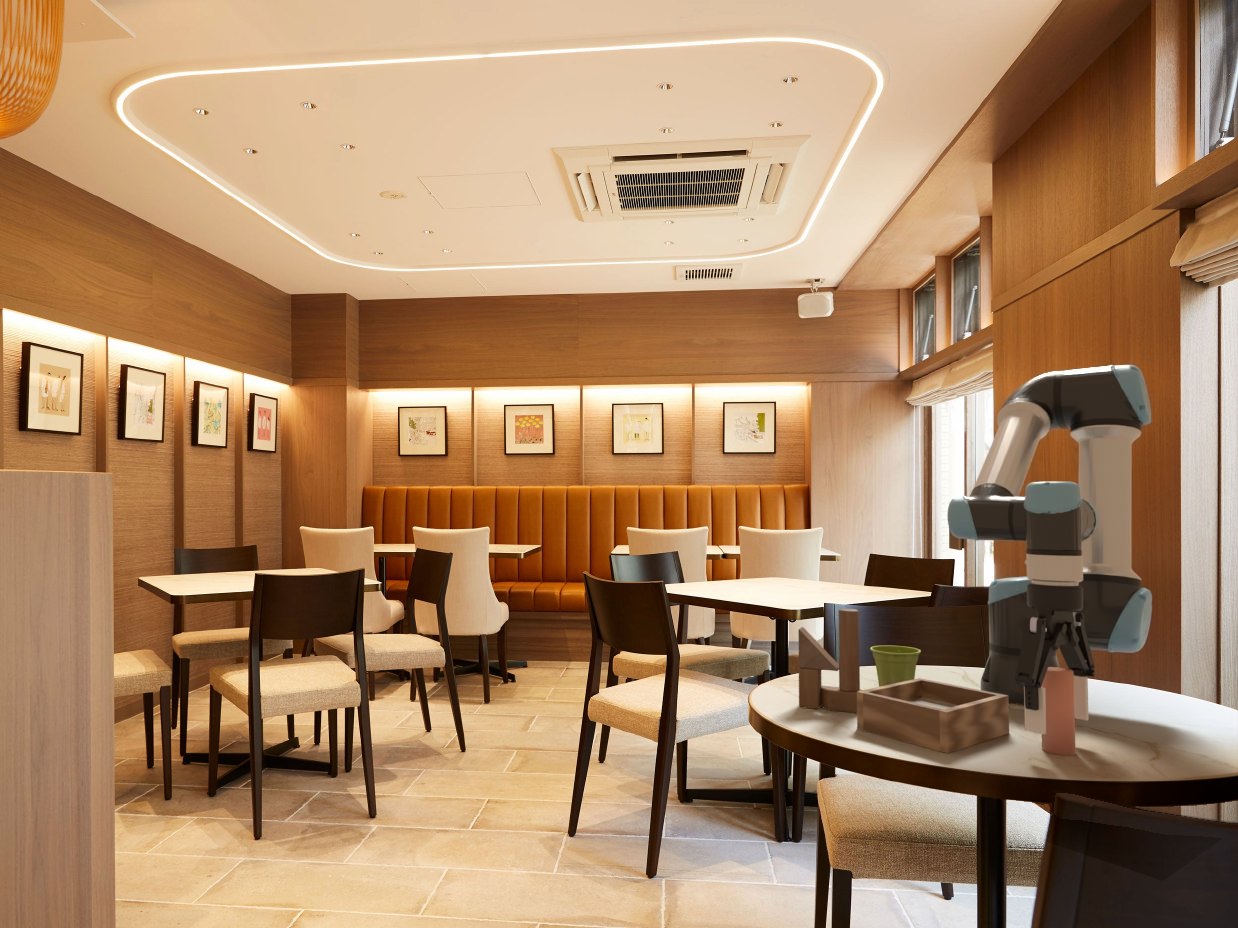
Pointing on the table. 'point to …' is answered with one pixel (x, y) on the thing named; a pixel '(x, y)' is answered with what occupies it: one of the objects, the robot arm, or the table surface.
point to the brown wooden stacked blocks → (831, 667)
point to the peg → (1059, 712)
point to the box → (933, 714)
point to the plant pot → (895, 663)
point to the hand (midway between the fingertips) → (1057, 725)
